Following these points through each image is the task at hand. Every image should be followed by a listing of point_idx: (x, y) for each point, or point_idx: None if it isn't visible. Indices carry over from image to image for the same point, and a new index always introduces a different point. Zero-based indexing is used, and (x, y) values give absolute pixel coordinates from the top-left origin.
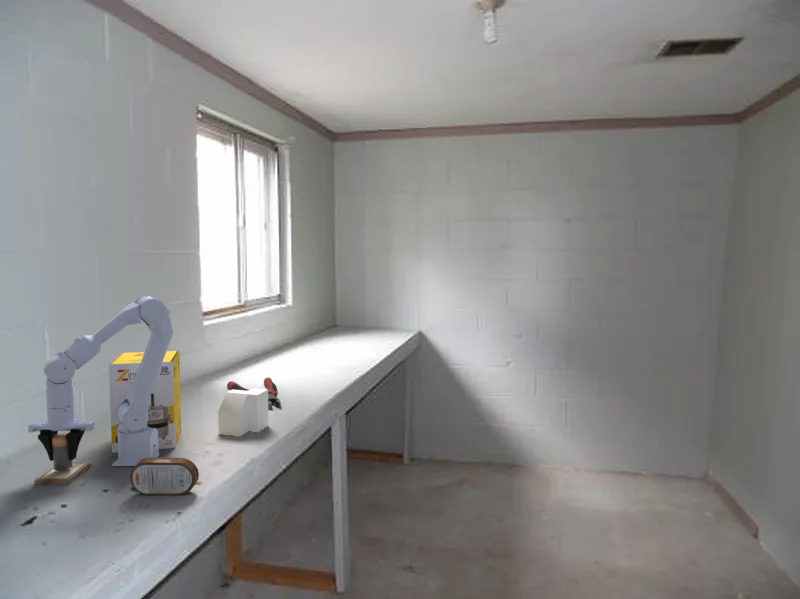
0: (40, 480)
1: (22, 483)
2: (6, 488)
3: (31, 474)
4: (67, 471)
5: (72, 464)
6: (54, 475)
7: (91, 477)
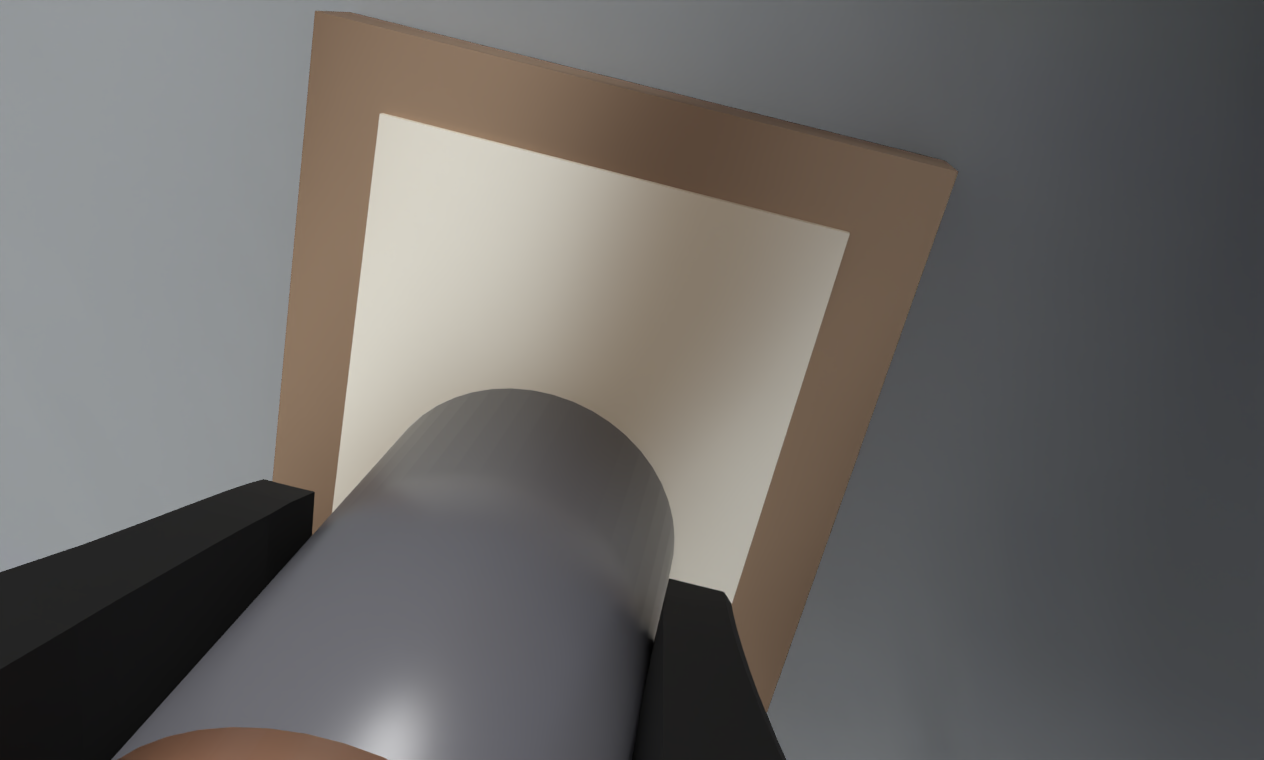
0: None
1: None
2: None
3: (60, 276)
4: None
5: (669, 531)
6: None
7: (1002, 677)
